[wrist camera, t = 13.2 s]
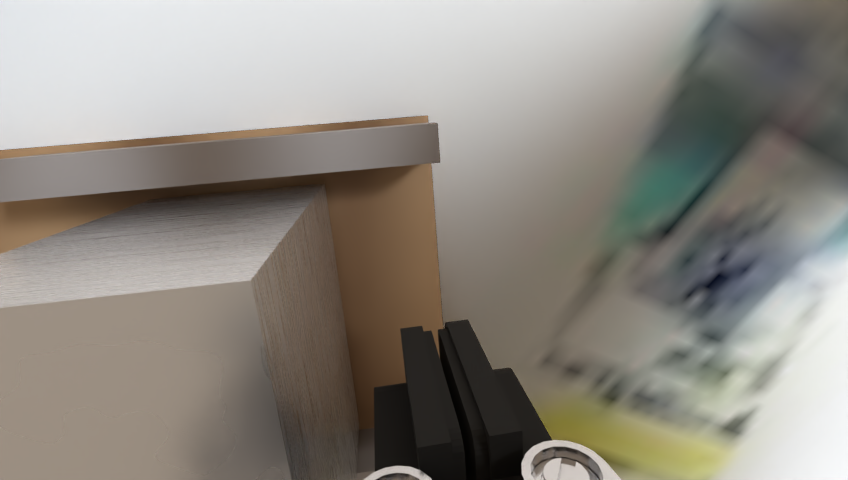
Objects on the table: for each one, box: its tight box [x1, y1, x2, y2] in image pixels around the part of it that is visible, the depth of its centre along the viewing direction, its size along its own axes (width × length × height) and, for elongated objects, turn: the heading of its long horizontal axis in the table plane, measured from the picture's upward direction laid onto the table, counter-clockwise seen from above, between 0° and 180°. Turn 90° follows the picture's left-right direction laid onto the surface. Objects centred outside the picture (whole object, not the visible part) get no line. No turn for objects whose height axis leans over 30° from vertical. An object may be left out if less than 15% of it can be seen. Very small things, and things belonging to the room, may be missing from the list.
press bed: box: [0, 116, 443, 480], centre depth 13 cm, size 18×12×4 cm, turn 95°
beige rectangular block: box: [0, 184, 359, 480], centre depth 10 cm, size 5×9×8 cm, turn 5°
